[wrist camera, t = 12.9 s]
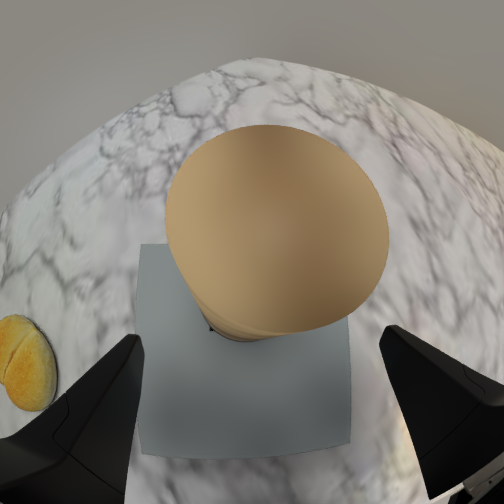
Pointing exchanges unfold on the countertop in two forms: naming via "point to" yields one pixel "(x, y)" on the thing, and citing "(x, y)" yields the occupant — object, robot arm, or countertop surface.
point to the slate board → (232, 379)
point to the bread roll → (26, 364)
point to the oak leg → (275, 232)
